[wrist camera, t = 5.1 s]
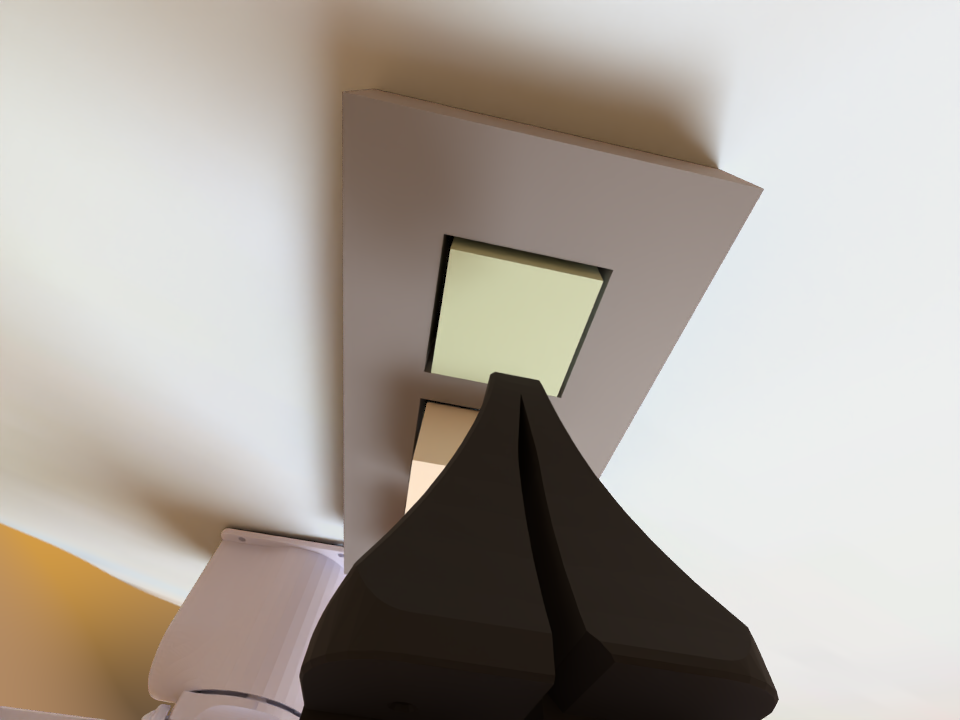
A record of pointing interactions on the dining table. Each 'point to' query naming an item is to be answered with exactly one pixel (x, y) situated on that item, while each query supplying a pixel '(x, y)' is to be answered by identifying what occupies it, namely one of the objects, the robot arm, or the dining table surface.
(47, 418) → the dining table surface
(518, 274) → the green key
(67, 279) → the dining table surface
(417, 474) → the cream key
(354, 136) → the board
